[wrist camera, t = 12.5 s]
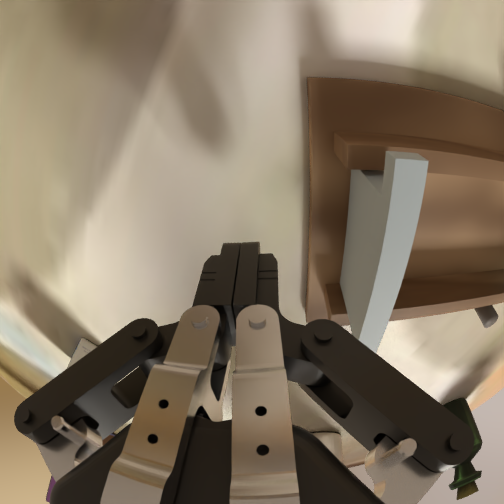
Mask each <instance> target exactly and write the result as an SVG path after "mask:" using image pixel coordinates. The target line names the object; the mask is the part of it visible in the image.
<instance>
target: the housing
mask: <svg viewBox="0 0 504 504" xmlns="http://www.w3.org/2000/svg"><path fill="white" fill-rule="evenodd" d="M307 91H308V113H309V150H310V213H309V251H308V275H307V293H306V310H305V314H306V323H309V322H311V321H314V320H317V319H328V320H331V321H334V322H336V323H337V324H339V325H340V326H344V325H350V322H349V318H348V314H347V310H346V305H345V302H344V298H343V294H342V290H341V286H340V277H341V270H342V263H343V255H344V247H345V238H346V228H347V218H348V207H349V194H350V180H351V170H384V167H385V156H386V151H396V152H409V153H418V154H419V155H421V156H422V157H424V158H425V159H426V160H428V161H429V162H428V169H427V176H426V182H425V188H424V194H423V199H422V205H421V210H420V214H419V219H418V224H417V228H416V232H415V236H414V241H413V245H412V248H411V252H410V256H409V260H408V263H407V267H406V270H405V274H404V277H403V280H402V283H401V287H400V290H399V293H398V296H397V299H396V302H395V305H394V308H393V310H392V313H391V316H390V319H389V321H395V320H403V319H411V318H418V317H425V316H432V315H439V314H445V313H451V312H457V311H463V310H468V309H473V308H474V309H475V311H476V312H477V314H478V316H479V318H480V320H481V322H482V323H483V325H484V327H485V328H488V327H490V326H492V325H493V324H494V323H495V322H496V321H497V319H498V314H497V313H496V311H495V309H494V308H493V306H492V305H493V304H498V303H502V302H504V111H502V110H500V109H497V108H494V107H491V106H488V105H485V104H482V103H478V102H475V101H472V100H468V99H465V98H461V97H457V96H453V95H449V94H445V93H441V92H437V91H432V90H427V89H422V88H417V87H411V86H405V85H399V84H392V83H385V82H376V81H367V80H356V79H341V78H314V77H307Z"/></svg>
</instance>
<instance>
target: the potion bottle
mask: <svg viewBox="0 0 504 504" xmlns="http://www.w3.org/2000/svg"><path fill="white" fill-rule="evenodd" d="M444 407H445V408H446V409H448V410H449V411H450V412H452V413H453V414H454V415H455V416H457V417H458V418H459V419H461V420H462V421H463V422H464V423H466V424H467V425H468V426H469V427H470V428H471V430H472V432H473V435H474V447H473V450H472V452H471V454H470V456H469V457H468V458H467V459H466V460H465V461H464V462H462V463H460V464H458V465H456V466H454V467H452V468H455V476H454V481H453V482H452V483H451V484H450V485H449V487H450V489H451V490H454V489H456V488H458V491H457V500H459V499H462V498H464V497H467V496H469V495H471V494H473V493H475V492H477V491H478V488H477V485H476V483H475V480H476V479H478V478H480V477H481V472H482V471H476V470H475V469H474V467H473V465H472V463H471V460H472V459H473V458H474V456H475V455H476V453H478V451H479V450H480V449H481V446H482V439H481V436H480V434H479V431H478V428H477V426H476V423H475V420H474V418H473V415H472V413H471V410H470V408H469V406H468V403H467V401H466V400H465V399H463V398H460V399H457V400H454V401H452V402H449V403H447V404H445V405H444Z"/></svg>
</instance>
